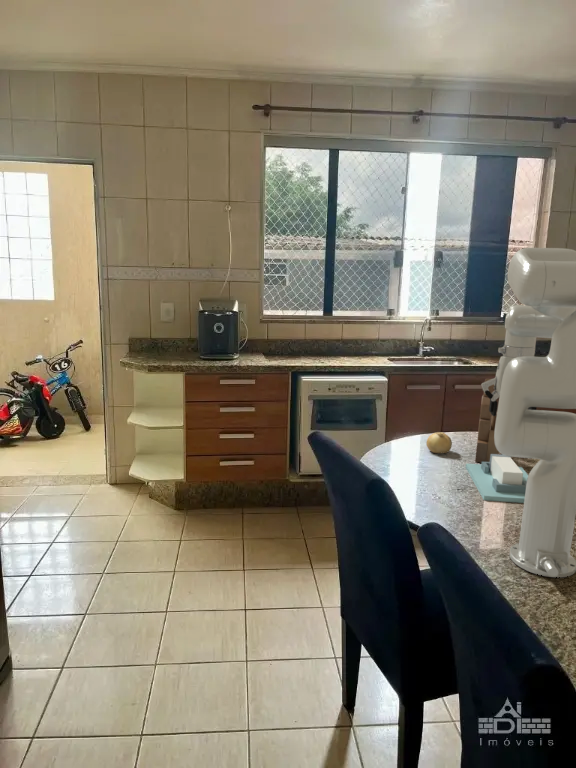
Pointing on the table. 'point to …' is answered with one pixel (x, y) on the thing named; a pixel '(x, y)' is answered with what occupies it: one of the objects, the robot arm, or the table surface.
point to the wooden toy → (486, 430)
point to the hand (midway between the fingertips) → (511, 415)
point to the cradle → (496, 484)
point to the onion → (439, 443)
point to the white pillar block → (505, 470)
